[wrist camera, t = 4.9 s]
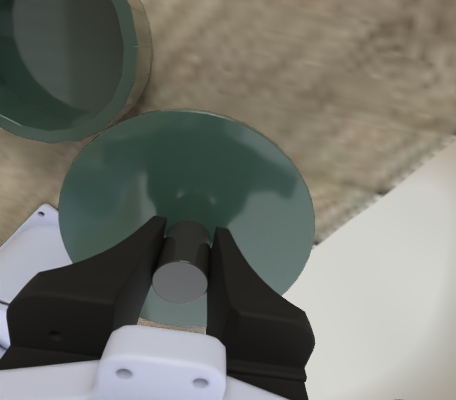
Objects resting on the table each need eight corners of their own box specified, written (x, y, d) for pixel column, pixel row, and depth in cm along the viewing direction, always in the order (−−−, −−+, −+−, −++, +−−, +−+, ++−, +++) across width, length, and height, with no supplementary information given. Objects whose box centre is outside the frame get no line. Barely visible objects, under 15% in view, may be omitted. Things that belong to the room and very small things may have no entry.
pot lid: (191, 341, 21) (183, 408, 17) (19, 221, 16) (-45, 275, 12) (355, 235, 17) (394, 291, 13) (190, 37, 12) (173, 33, 8)
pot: (82, 158, 23) (57, 178, 20) (-64, 31, 20) (-129, 26, 16) (188, 49, 20) (180, 49, 17) (38, -130, 16) (-15, -182, 13)
